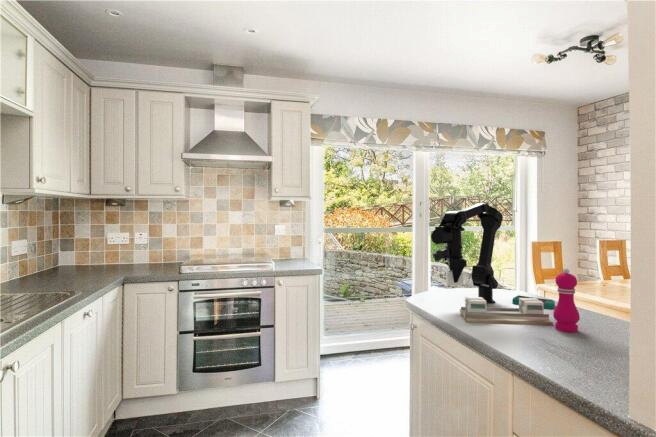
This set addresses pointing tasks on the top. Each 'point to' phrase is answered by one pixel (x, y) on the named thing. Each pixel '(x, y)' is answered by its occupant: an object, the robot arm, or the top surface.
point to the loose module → (451, 281)
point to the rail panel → (505, 312)
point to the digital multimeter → (547, 302)
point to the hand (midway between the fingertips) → (454, 281)
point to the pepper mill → (566, 303)
